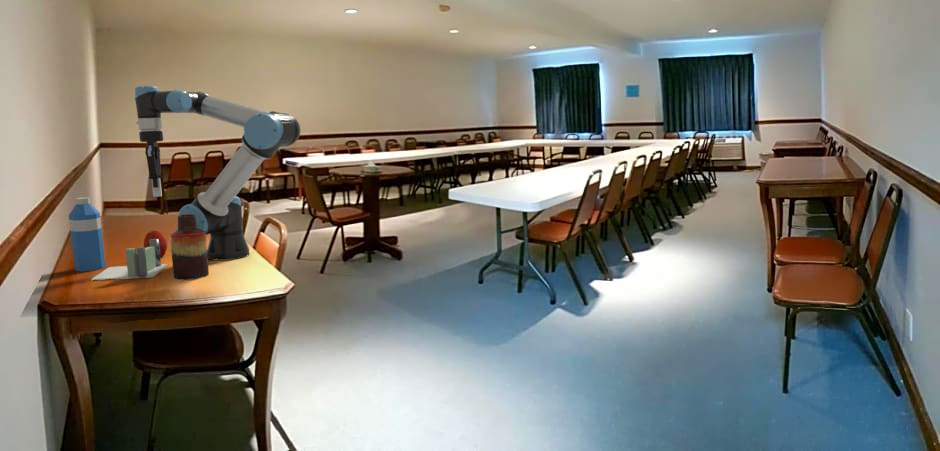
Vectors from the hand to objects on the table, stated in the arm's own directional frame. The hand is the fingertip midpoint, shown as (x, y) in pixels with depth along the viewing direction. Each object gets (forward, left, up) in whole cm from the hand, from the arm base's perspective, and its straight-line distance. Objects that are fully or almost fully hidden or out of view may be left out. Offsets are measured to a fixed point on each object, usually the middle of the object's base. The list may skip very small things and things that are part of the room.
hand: (157, 196), depth 236 cm
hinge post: (0, +10, -24) cm, 26 cm away
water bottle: (+23, +5, -24) cm, 34 cm away
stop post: (0, +24, -24) cm, 34 cm away
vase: (-15, +26, -24) cm, 39 cm away
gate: (+2, +20, -23) cm, 30 cm away
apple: (+5, -10, -24) cm, 27 cm away
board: (+6, +16, -24) cm, 30 cm away
